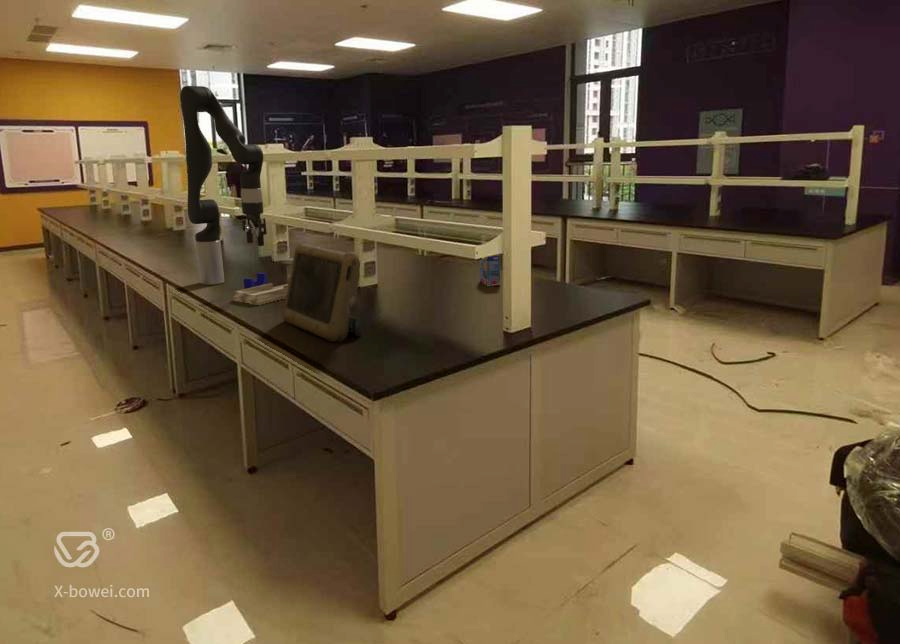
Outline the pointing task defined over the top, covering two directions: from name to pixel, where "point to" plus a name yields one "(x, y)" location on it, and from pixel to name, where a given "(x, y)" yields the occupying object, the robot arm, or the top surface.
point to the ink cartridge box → (490, 270)
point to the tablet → (322, 292)
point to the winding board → (265, 290)
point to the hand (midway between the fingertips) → (255, 244)
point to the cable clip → (260, 281)
